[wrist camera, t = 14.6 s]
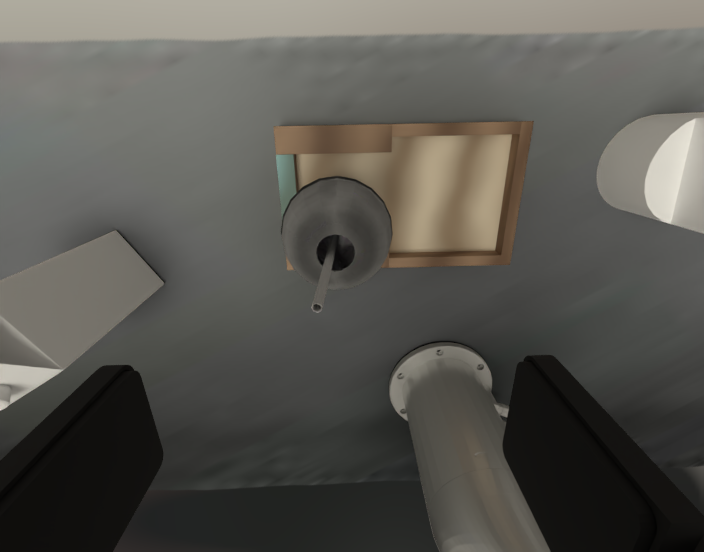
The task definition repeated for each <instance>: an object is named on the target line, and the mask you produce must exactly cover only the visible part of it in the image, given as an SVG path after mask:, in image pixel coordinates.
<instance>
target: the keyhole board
mask: <svg viewBox="0 0 704 552" xmlns="http://www.w3.org/2000/svg"><path fill="white" fill-rule="evenodd" d="M533 122H534V121H521V122H471V123H421V124H371V125H320V126H274V136H275V146H276V161H277V172H278V182H279V192H280V202H281V213H282V219H283V214H284V212H285V210H286V208H287V205H288V203H289V201H290V199H291V198H292V197H293V196H294V195H295V194H296V193H297V192H298V191H299V190H300V189H301V188H302V187H303V186H305V185H307V184H309V183H311V182H313V181H315V180H317V179H319V178H325V177H332V176H342V177H347V178H352V179H356V180H358V181H360V182H362V183H364V184H365V185H367V186H369V187H371V188H372V189H373V190H374V191H375V192H376V193H377V194H378V195H379V196H380V197H381V199H382V200H383V201H384V202H385V205H386V207H387V209H388V211H389V214H390V216H391V221H392V232H393V235H392V240H391V244H390V248H389V252H388V255H387V258H386V259H385V261H384V263H383V264H382V266H381V268H394V267H435V266H476V265H510V261H511V255H512V249H513V243H514V237H515V231H516V225H517V218H518V212H519V206H520V200H521V194H522V188H523V182H524V176H525V170H526V164H527V158H528V152H529V146H530V140H531V134H532V128H533ZM286 260H287V270H294V269H293V267H292V265H291V264H290V262H289V260H288V258H287V257H286Z"/></svg>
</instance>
